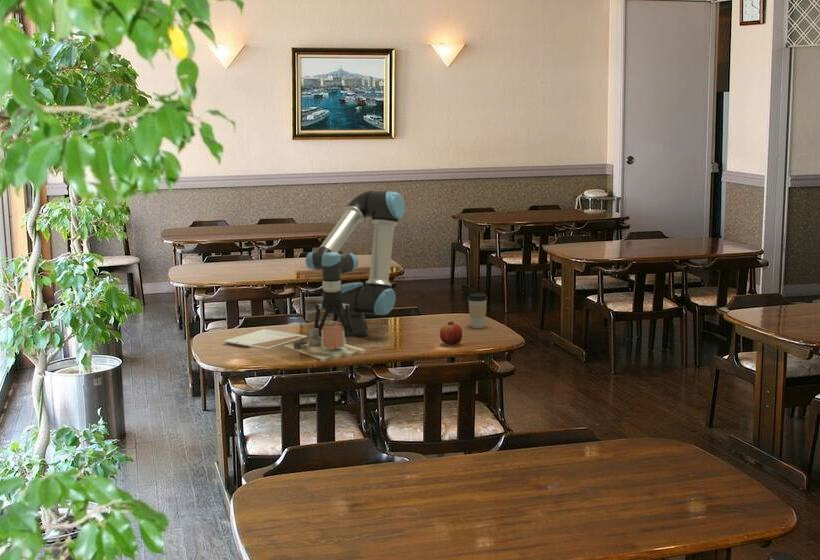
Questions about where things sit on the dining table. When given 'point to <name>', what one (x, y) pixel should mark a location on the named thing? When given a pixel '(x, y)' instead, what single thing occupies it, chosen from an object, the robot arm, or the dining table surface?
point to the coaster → (334, 351)
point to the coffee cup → (477, 309)
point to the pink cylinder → (333, 335)
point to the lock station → (321, 347)
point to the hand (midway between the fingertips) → (333, 344)
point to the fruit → (451, 333)
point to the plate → (262, 338)
